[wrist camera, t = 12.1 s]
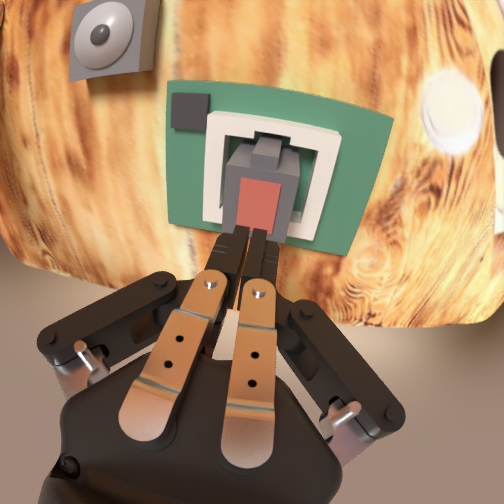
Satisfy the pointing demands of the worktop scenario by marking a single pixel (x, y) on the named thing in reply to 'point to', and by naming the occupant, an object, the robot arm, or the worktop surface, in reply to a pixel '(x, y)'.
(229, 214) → the keyed plug
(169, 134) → the circuit board
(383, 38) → the worktop surface
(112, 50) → the grey square domed block
